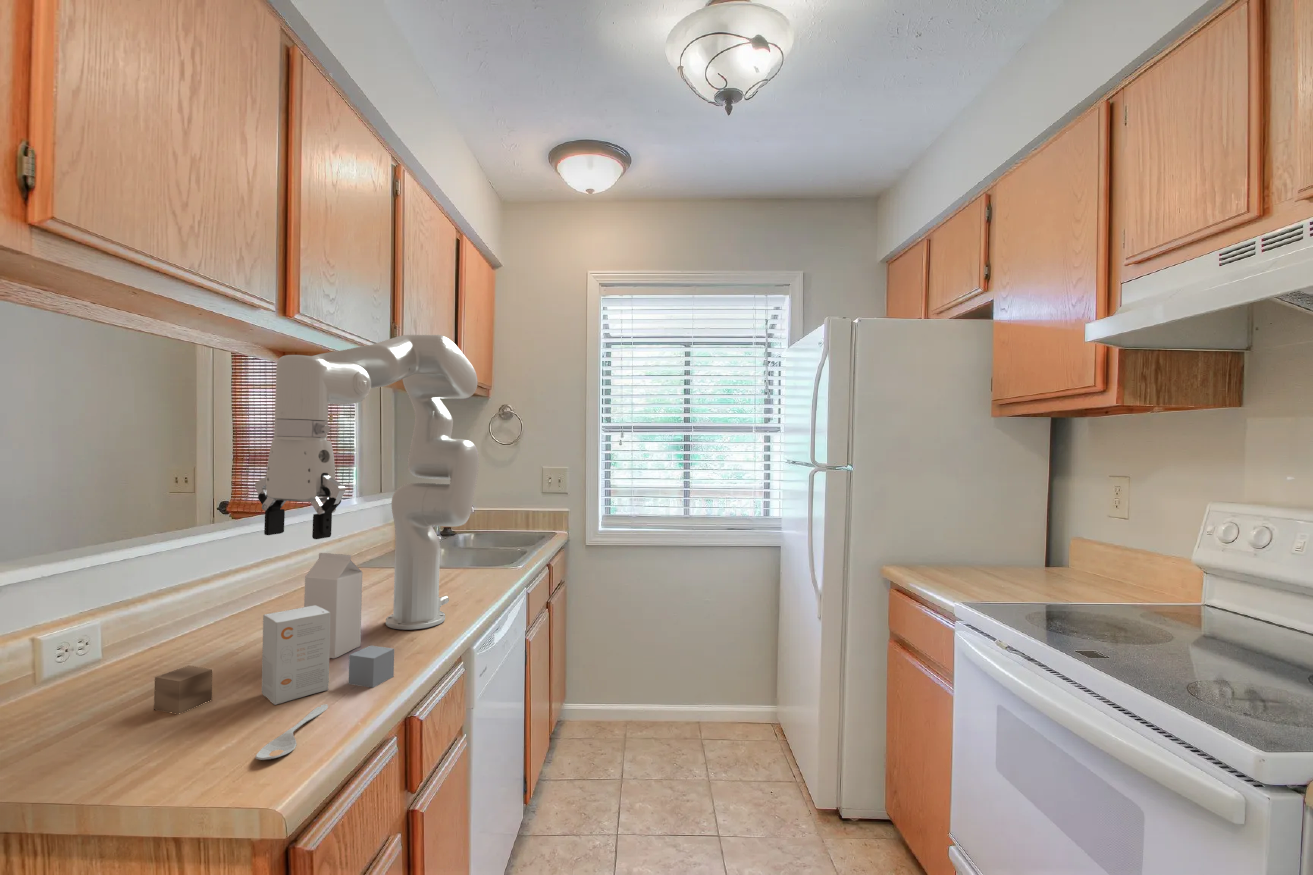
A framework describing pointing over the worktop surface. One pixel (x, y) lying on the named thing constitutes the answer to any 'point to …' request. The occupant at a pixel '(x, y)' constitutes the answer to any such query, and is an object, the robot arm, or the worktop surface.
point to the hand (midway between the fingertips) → (297, 536)
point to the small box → (295, 653)
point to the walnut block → (183, 689)
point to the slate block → (371, 666)
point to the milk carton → (337, 599)
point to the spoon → (287, 737)
